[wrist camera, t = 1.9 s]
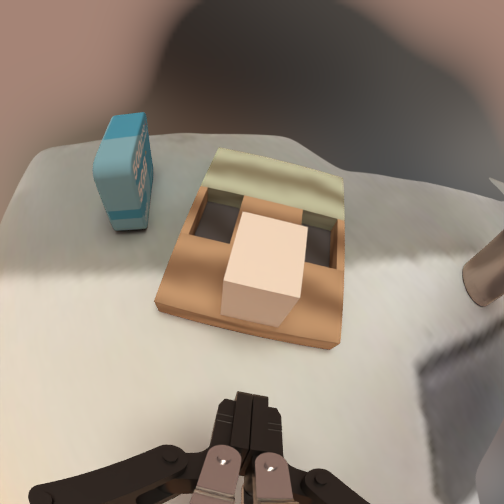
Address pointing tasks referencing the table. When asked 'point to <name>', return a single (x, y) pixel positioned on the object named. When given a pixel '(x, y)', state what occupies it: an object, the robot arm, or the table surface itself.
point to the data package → (125, 171)
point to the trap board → (223, 236)
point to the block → (264, 270)
